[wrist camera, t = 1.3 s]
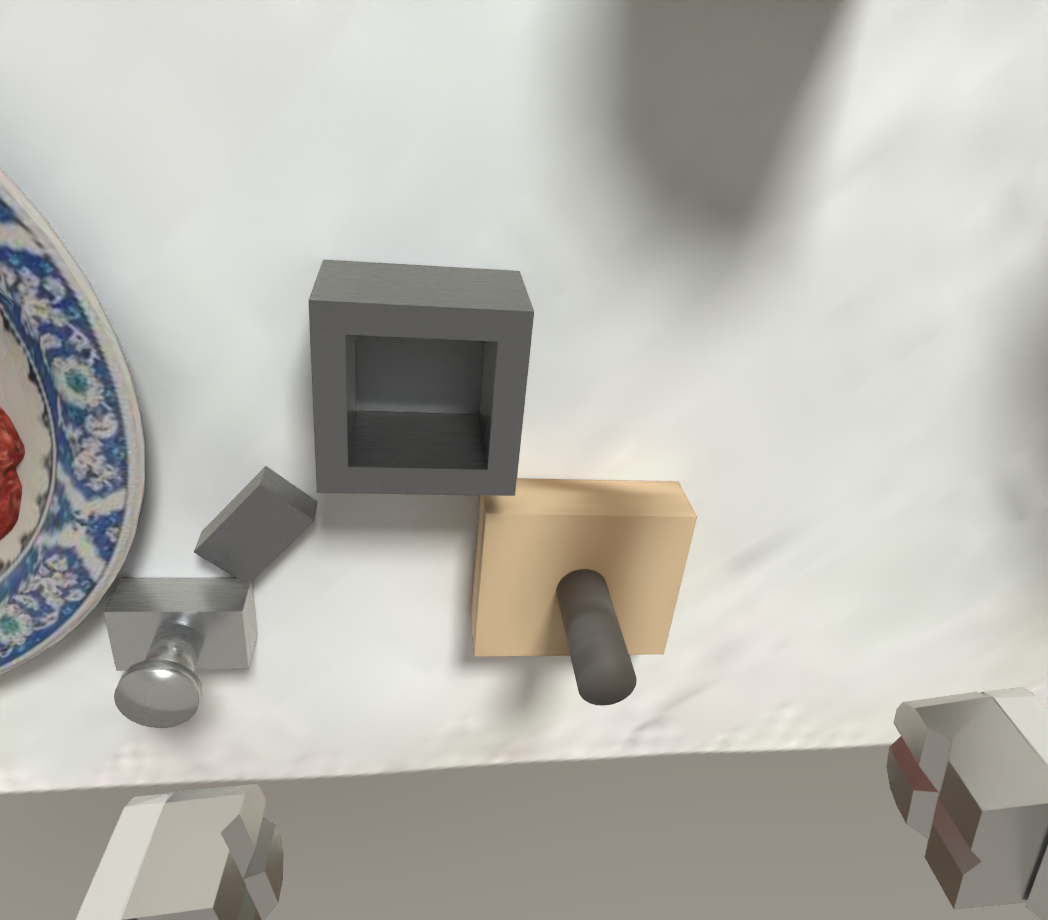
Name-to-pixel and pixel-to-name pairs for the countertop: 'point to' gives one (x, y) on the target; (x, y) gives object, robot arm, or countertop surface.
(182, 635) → the silver knob on block
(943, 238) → the countertop surface
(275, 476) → the gray rectangular block
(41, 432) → the ceramic plate
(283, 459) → the countertop surface
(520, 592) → the keeper
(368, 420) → the grey square ring
